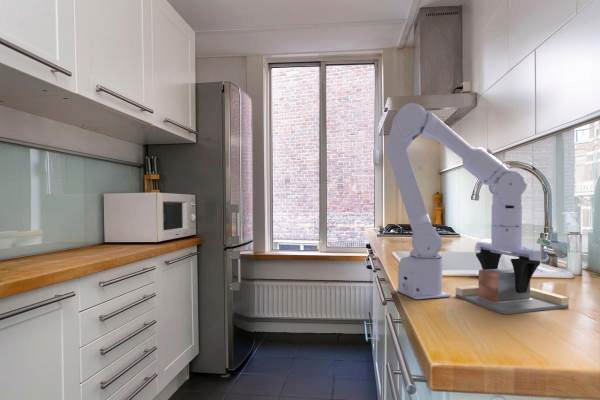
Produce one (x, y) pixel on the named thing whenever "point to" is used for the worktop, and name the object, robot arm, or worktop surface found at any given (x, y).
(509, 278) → the painted block
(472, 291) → the tray
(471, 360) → the worktop surface
